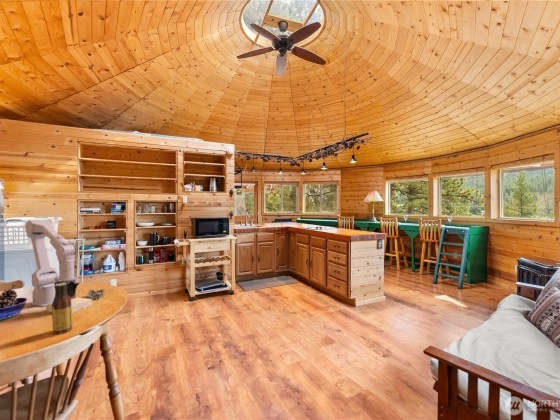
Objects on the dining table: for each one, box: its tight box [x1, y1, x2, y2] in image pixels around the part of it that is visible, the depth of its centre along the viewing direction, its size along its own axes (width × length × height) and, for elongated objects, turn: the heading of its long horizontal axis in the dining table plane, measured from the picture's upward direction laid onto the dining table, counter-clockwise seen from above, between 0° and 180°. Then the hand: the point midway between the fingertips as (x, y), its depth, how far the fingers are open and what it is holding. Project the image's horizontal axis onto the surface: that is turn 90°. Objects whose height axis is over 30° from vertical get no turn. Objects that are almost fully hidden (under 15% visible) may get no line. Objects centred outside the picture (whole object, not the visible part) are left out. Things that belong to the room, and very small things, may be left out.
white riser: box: [45, 296, 93, 314], centre depth 131 cm, size 14×12×3 cm
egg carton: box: [87, 288, 105, 301], centre depth 146 cm, size 11×8×4 cm
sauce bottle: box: [51, 283, 73, 335], centre depth 107 cm, size 7×6×20 cm
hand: (67, 296), depth 129 cm, fingers closed on walnut cube, 5 cm apart
